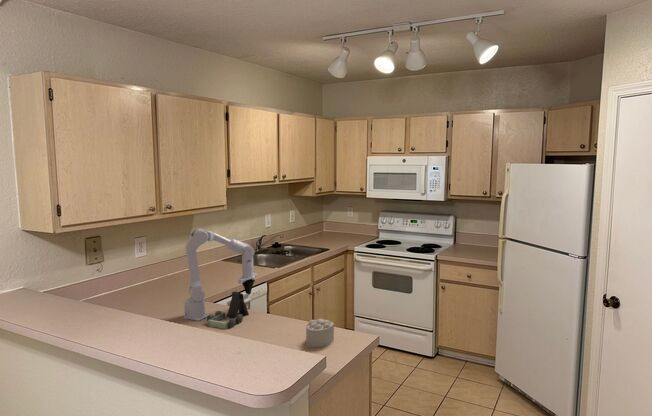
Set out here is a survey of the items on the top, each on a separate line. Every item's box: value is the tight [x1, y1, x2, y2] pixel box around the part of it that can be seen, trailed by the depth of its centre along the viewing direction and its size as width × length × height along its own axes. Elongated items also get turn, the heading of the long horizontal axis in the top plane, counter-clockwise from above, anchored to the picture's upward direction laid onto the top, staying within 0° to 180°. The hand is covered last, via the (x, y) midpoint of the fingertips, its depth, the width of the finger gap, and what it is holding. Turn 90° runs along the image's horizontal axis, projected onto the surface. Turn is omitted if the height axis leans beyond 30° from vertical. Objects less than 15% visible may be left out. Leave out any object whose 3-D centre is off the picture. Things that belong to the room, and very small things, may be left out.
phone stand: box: [226, 290, 250, 319], centre depth 216 cm, size 9×6×12 cm, turn 135°
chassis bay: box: [206, 310, 244, 330], centre depth 207 cm, size 14×12×4 cm
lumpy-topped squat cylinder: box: [305, 318, 335, 348], centre depth 186 cm, size 10×13×9 cm
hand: (248, 293), depth 225 cm, fingers closed
